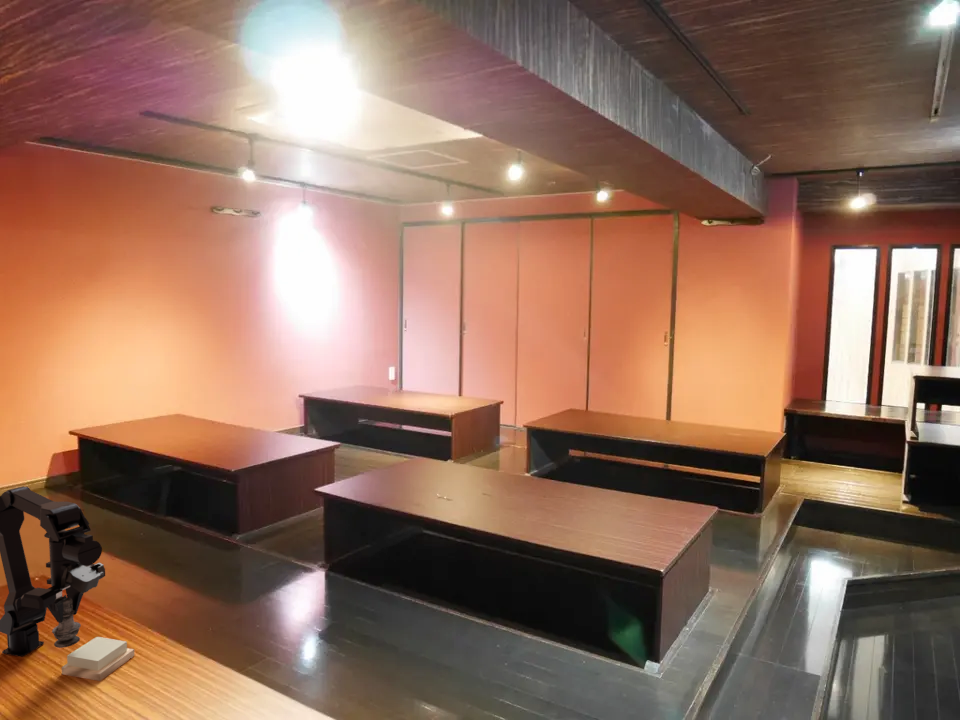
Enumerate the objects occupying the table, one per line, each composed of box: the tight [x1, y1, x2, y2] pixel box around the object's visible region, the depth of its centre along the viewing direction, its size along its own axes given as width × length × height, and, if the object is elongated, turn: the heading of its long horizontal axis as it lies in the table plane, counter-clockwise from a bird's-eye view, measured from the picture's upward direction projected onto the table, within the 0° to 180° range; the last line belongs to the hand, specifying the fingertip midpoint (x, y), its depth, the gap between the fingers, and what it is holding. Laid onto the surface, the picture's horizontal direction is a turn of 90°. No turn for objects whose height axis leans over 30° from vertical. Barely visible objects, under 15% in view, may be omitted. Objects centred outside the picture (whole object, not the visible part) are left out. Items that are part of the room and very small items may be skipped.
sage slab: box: [66, 636, 128, 671], centre depth 158 cm, size 9×9×2 cm
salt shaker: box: [51, 594, 81, 649], centre depth 155 cm, size 6×6×12 cm
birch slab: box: [61, 647, 135, 682], centre depth 159 cm, size 11×11×2 cm
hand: (67, 618), depth 155 cm, fingers closed on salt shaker, 4 cm apart
